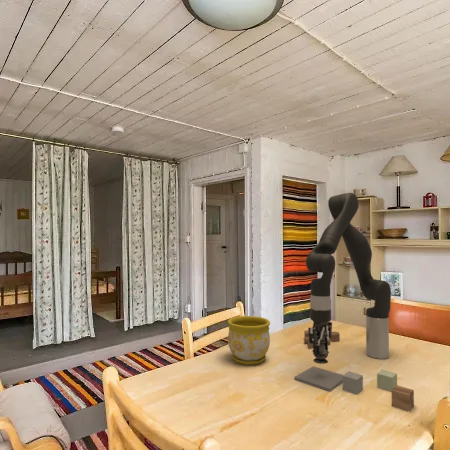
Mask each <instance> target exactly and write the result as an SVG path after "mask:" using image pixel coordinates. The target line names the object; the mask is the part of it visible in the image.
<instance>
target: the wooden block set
mask: <svg viewBox="0 0 450 450" xmlns="http://www.w3.org/2000/svg"><path fill="white" fill-rule="evenodd" d="M316 336H317V335H316ZM312 339H313V338H312ZM340 339H341V337H340V332H339V331H332V334H331V338H329V341H328V346H330V345H331V343H337V342H340ZM303 340H304V344H306V345H307V348H308V350H313V344H310V343H309V332H308V330H304V337H303ZM330 341H331V342H330ZM336 341H337V342H336Z"/></svg>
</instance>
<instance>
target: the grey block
mask: <svg viewBox="0 0 450 450" xmlns="http://www.w3.org/2000/svg"><path fill="white" fill-rule="evenodd" d="M342 375H343V383H342V390H343V391H345V392H348V393H351V394H354V395H358V394H360V392H362V391H363V390H364V378H363V377H364V376H363V374H359V373H355V372H352V371H347V372H346V373H344V374H342Z"/></svg>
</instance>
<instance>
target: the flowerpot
mask: <svg viewBox="0 0 450 450" xmlns="http://www.w3.org/2000/svg"><path fill="white" fill-rule="evenodd" d="M227 320H228V321H227V324H228V335H227V336H228V337H227V343H228V347H229V350H230V352H231V354H232V355H231V356H232V357H231V358H232V359H234V361H235V362H236V363H238V364H241V365H246V366H254V365H255V366H256V365H259V364H261V363H263V362H264V361H265V359H266V354H267V353H268V352H269V349H270V343H271V340H270V339H271V338H270V337H271V336H270V327H269V326H270V325H271V321H270V320H269V319H268V318H265V317H261V316H254V315H241V316H234V317H231V318H229V319H227Z"/></svg>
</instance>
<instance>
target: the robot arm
mask: <svg viewBox="0 0 450 450" xmlns="http://www.w3.org/2000/svg"><path fill="white" fill-rule="evenodd" d="M359 203H360V202H359V199H358V197H357V195H356V194H355V193H353V192H346V193H340V194H337V195H332V196H330V197H329V199H328V203H327V206H328V210H329V213H330V215H331V217H332V219H333V221H332V222H330V223H329V224H328V226H327V227H326V228H325V229H324V230H323V232H322V234H321V236H320V239H319V241H318V243H317V244H315V246H314V248H312V249H311V251H310V252H309V253H308V255H307V256H306V259H305V266H306V268H307V270H308V271H309V272H312V273H320V274H321V273H322V275H321V276H320V277H317V278H313V279H311V280H310V300H309V305H310V306H309V318H310V320H311V321H312V323H313V324H312V326H311V327H308V328H307V329H308V332H309V343H310V344H313V348H312V354H313V356H314V355H316V356H319V355H320V345H319V344H320V340H321V339H322V336H323V333H325V341H326V342H325V350H327V351H328V352H329V345H328V341H329V338H331V334H332V332H333V331H332V330H333V322H331V321H332V300H331V284H332V278H333V275H334V272H335V268H336V259H335V257H334V256H333V255H334V254H335V253H336V251H337V249H338V246H339V243H340V240H341V239H343V241H344V245H345V248H346V250H347V252H348V256H349V257H350V260H351V262H352V265H353V267H354V270H355V273H356V277H357V280H358V285H359V287H360V291H361V293H362V295H363V297H364V298H365V299H367V300H371V301H374V305H373V307H368V308H366V309H365V351H366V352H365V354H366V356H368V357H369V358H370V357H371V358H373V359H379V360H383V359H384V360H385V359H388V358H389V357H390V327H389V326H390V322H389V320H390V319H389V316H390V315H389V314H390V312H391V303H392V302H391V299H392V298H391V297H392V290H391V289H392V288H391V285H390V283H389V282H388V281H386V280H380V279H375V278H374V277H373V276H372V274H371V271H370V264H371V262H372V258H373V251H372V249H371V245H370V243H369V241H368V238H367V236H366V235H364V234H363V233H362V232H361V231H360V230H359V229H357V228H356V227H355V226H354V225H352V224H351V222H352V220H353V218H354V217H355V216H356V214H357V212H358V210H359ZM316 335H318V336H316ZM312 338H313V339H312ZM317 339H318V340H317Z"/></svg>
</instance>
